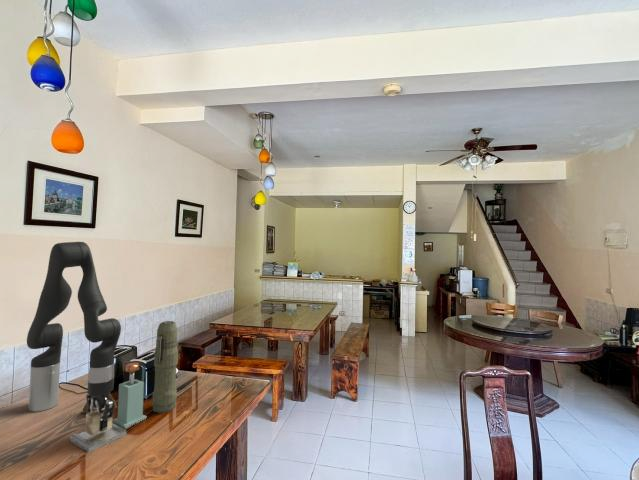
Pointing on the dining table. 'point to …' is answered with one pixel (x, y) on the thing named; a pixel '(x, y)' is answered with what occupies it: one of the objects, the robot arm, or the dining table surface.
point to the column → (130, 404)
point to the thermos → (165, 368)
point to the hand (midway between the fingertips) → (99, 427)
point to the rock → (90, 405)
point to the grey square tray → (97, 438)
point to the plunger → (132, 371)
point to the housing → (95, 423)
